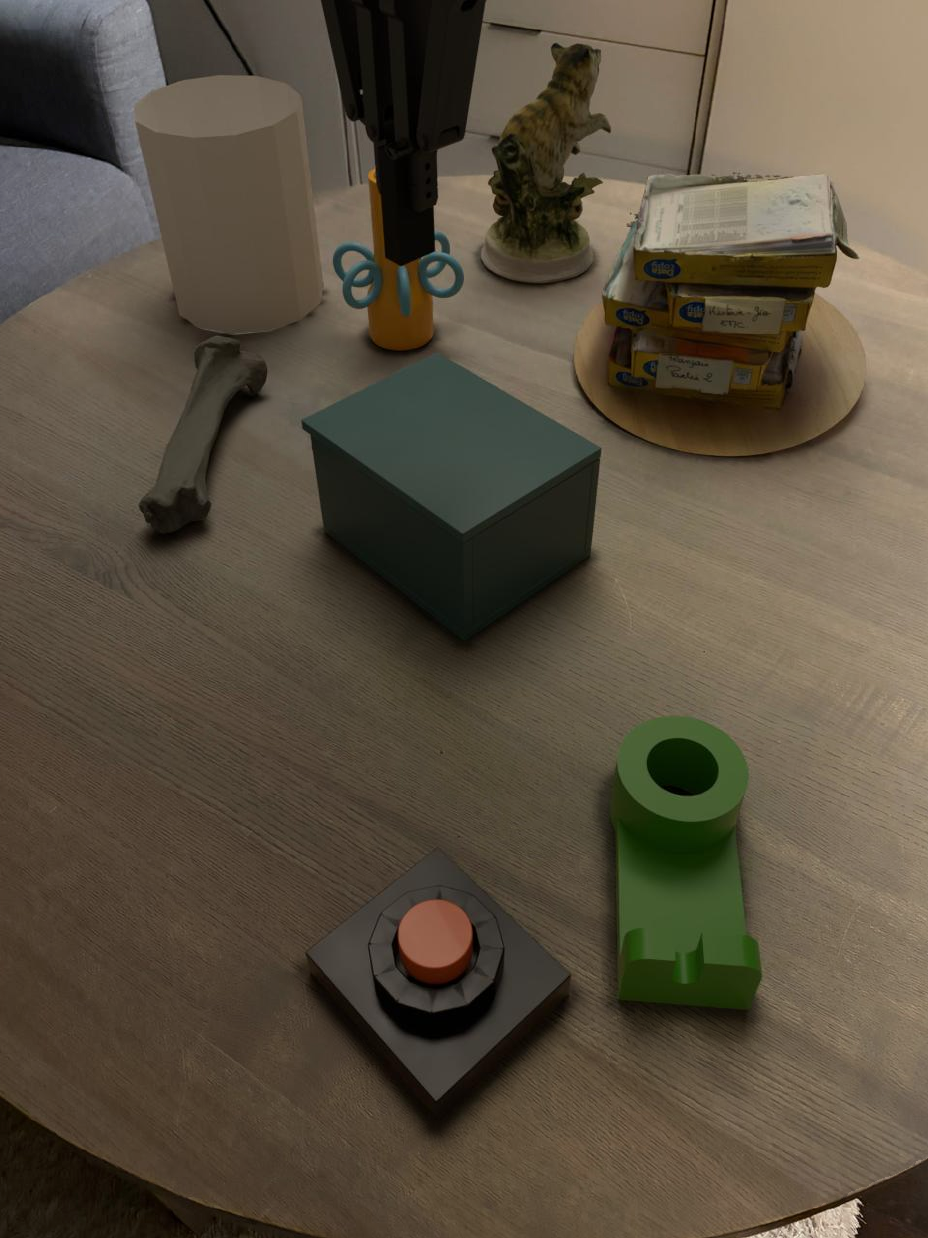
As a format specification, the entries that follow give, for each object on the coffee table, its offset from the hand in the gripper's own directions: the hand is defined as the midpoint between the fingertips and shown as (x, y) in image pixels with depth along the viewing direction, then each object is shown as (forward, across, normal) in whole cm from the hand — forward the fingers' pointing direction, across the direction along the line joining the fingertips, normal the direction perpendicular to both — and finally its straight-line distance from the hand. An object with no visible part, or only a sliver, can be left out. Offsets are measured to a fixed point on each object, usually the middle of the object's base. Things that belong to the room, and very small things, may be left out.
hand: (410, 254), depth 63 cm
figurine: (+22, -24, +36) cm, 49 cm away
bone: (+22, -19, -6) cm, 30 cm away
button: (+18, +27, -23) cm, 40 cm away
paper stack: (+22, +2, +33) cm, 39 cm away
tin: (+22, +3, +1) cm, 22 cm away
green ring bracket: (+22, +32, -9) cm, 40 cm away
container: (+22, -38, +10) cm, 45 cm away
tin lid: (+13, +2, +1) cm, 13 cm away
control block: (+22, +27, -23) cm, 42 cm away
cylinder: (+22, -22, +16) cm, 35 cm away
